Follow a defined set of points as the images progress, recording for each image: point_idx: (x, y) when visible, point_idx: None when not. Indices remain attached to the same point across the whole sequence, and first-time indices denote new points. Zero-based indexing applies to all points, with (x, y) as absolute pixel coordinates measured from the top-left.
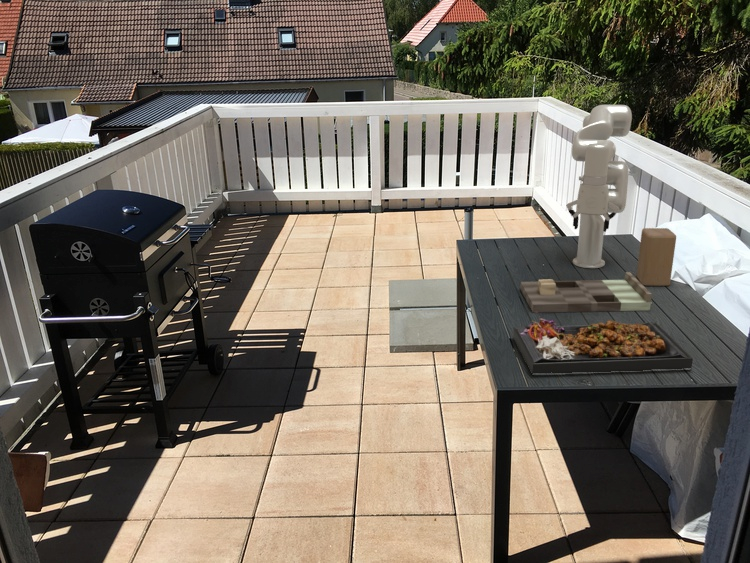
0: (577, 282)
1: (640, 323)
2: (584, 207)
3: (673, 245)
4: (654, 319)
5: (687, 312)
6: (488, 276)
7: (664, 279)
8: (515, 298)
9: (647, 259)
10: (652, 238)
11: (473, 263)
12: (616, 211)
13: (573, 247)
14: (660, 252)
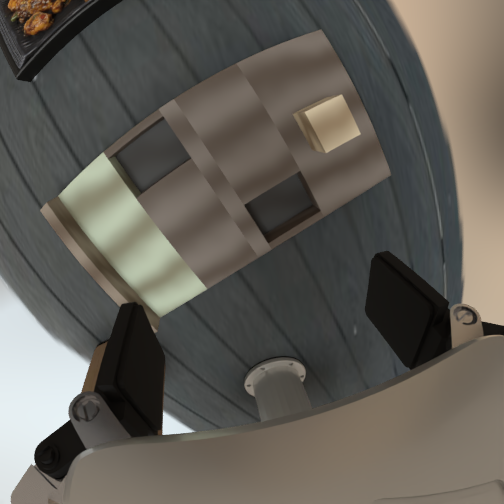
0: (261, 240)
1: (40, 47)
2: (497, 437)
3: None
4: (40, 151)
5: (14, 232)
6: (437, 217)
7: (99, 352)
8: (374, 108)
9: None
10: None
11: (455, 266)
12: (27, 483)
13: None
14: None
